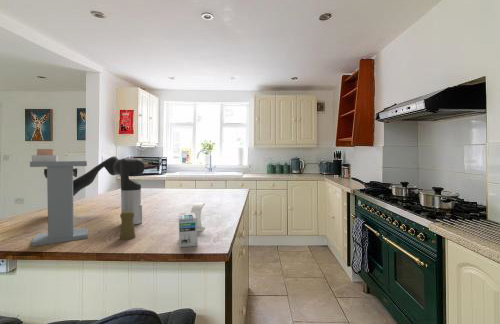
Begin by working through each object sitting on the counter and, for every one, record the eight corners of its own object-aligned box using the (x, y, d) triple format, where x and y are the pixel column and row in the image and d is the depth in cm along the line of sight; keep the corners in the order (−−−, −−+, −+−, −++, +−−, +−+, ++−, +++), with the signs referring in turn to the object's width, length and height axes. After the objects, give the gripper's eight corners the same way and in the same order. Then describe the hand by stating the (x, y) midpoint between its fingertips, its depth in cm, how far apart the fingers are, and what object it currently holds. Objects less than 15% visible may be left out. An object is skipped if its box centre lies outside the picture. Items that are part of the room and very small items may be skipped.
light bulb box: (197, 246, 96) (197, 217, 96) (179, 248, 94) (179, 218, 94) (195, 237, 106) (195, 211, 106) (178, 239, 104) (178, 213, 104)
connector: (56, 161, 118) (56, 150, 118) (52, 161, 103) (52, 149, 103) (43, 161, 115) (42, 150, 115) (36, 161, 101) (36, 148, 101)
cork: (129, 240, 103) (128, 213, 103) (116, 239, 104) (115, 212, 104) (138, 235, 109) (138, 210, 109) (126, 235, 110) (125, 209, 110)
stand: (87, 230, 117) (86, 155, 117) (87, 238, 106) (86, 155, 106) (36, 237, 107) (35, 155, 107) (31, 246, 97) (29, 155, 96)
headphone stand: (205, 228, 121) (204, 202, 121) (199, 231, 115) (199, 205, 115) (195, 227, 122) (195, 202, 122) (190, 231, 116) (190, 204, 116)
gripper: (77, 185, 146) (77, 172, 134) (46, 187, 138) (42, 173, 127) (77, 173, 149) (77, 160, 137) (46, 174, 142) (43, 160, 130)
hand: (60, 166), depth 132 cm, fingers open, 8 cm apart
